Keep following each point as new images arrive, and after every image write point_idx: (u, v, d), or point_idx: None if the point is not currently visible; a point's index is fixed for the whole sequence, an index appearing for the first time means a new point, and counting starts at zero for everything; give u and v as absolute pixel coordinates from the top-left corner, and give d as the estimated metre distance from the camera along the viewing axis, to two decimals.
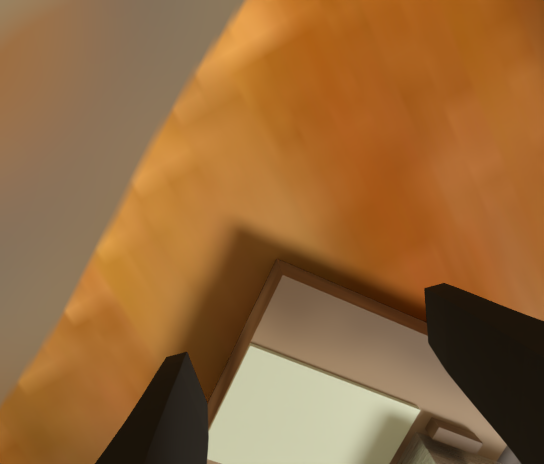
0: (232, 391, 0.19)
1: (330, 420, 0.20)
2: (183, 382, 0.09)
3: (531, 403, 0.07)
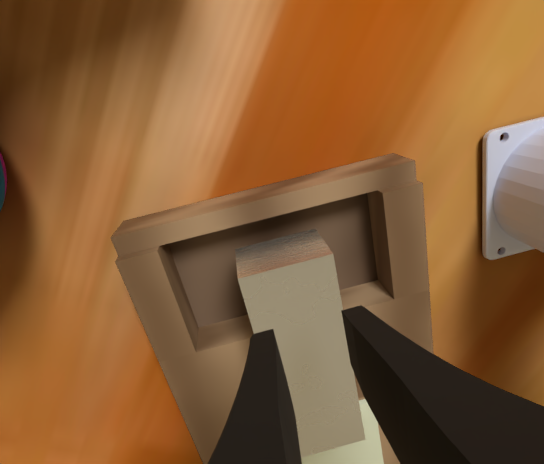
0: None
1: None
2: (278, 356, 0.09)
3: (412, 437, 0.07)
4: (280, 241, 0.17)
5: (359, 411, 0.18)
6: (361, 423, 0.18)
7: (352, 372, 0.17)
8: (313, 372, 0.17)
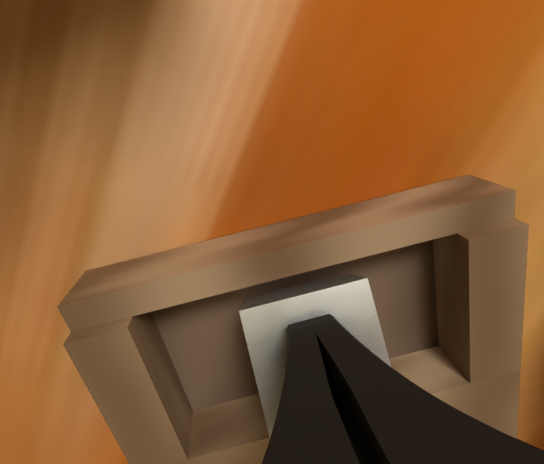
0: None
1: None
2: None
3: (366, 450, 0.07)
4: (301, 285, 0.13)
5: None
6: None
7: None
8: None
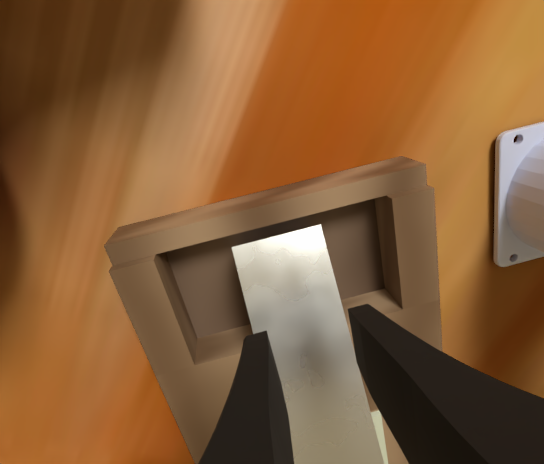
0: None
1: None
2: (271, 358, 0.09)
3: (421, 434, 0.07)
4: None
5: (373, 428, 0.15)
6: (378, 448, 0.15)
7: (357, 368, 0.15)
8: (313, 365, 0.15)
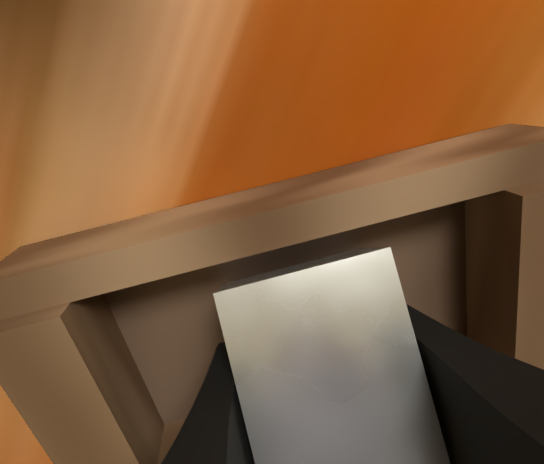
0: None
1: None
2: None
3: (458, 424, 0.07)
4: (298, 264, 0.10)
5: None
6: None
7: None
8: None
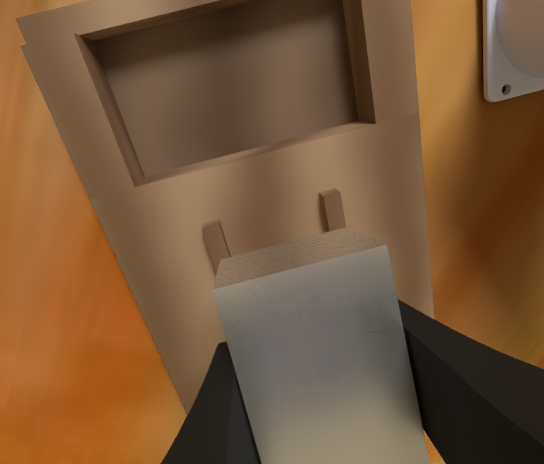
0: None
1: None
2: None
3: (459, 424, 0.07)
4: (292, 244, 0.10)
5: None
6: None
7: None
8: None
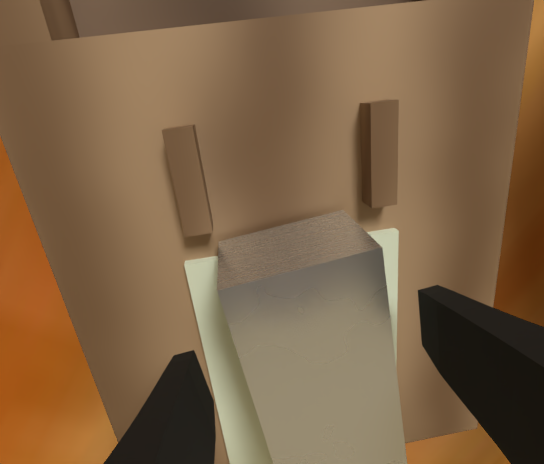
0: None
1: None
2: (191, 380, 0.09)
3: (521, 406, 0.07)
4: (289, 229, 0.11)
5: None
6: None
7: (401, 434, 0.11)
8: (341, 437, 0.11)
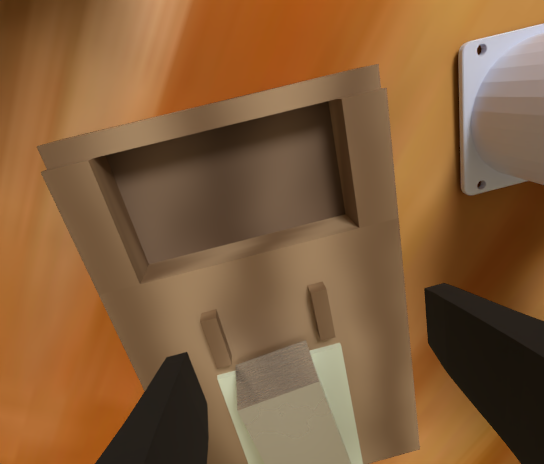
0: None
1: None
2: (183, 382, 0.09)
3: (531, 403, 0.07)
4: (274, 357, 0.19)
5: None
6: None
7: None
8: None
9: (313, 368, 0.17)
